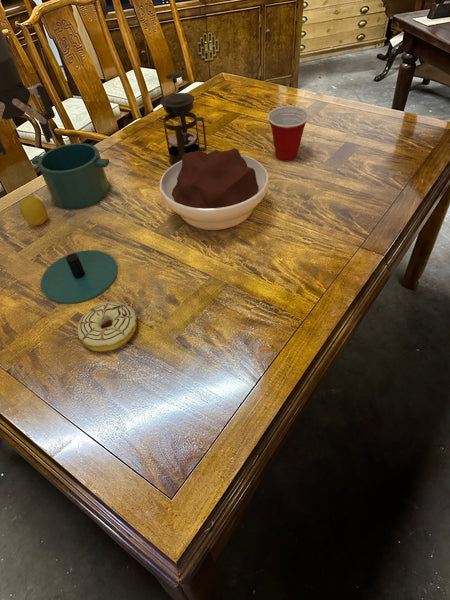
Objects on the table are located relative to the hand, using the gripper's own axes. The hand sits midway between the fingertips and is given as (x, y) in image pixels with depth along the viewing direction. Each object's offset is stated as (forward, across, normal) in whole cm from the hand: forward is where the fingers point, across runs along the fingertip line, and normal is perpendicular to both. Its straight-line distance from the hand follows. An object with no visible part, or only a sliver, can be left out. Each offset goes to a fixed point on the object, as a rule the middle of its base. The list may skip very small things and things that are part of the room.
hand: (26, 147), depth 83 cm
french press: (+22, -40, -16) cm, 48 cm away
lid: (+22, 0, +17) cm, 27 cm away
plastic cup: (+22, -64, -1) cm, 68 cm away
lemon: (+22, +4, -8) cm, 24 cm away
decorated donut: (+22, 0, +34) cm, 41 cm away
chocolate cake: (+22, -35, +12) cm, 43 cm away
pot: (+22, -8, -16) cm, 29 cm away
